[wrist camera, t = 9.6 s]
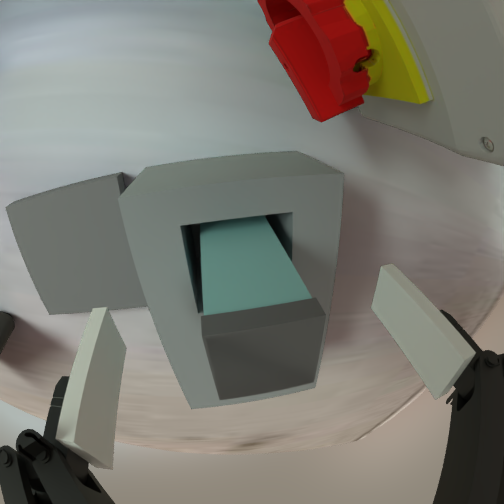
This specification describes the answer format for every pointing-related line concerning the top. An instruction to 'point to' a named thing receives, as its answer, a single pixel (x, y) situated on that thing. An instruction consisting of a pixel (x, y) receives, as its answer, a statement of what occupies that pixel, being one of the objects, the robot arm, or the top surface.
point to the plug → (255, 311)
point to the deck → (78, 247)
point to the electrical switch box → (400, 65)
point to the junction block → (222, 208)
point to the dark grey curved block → (5, 328)
